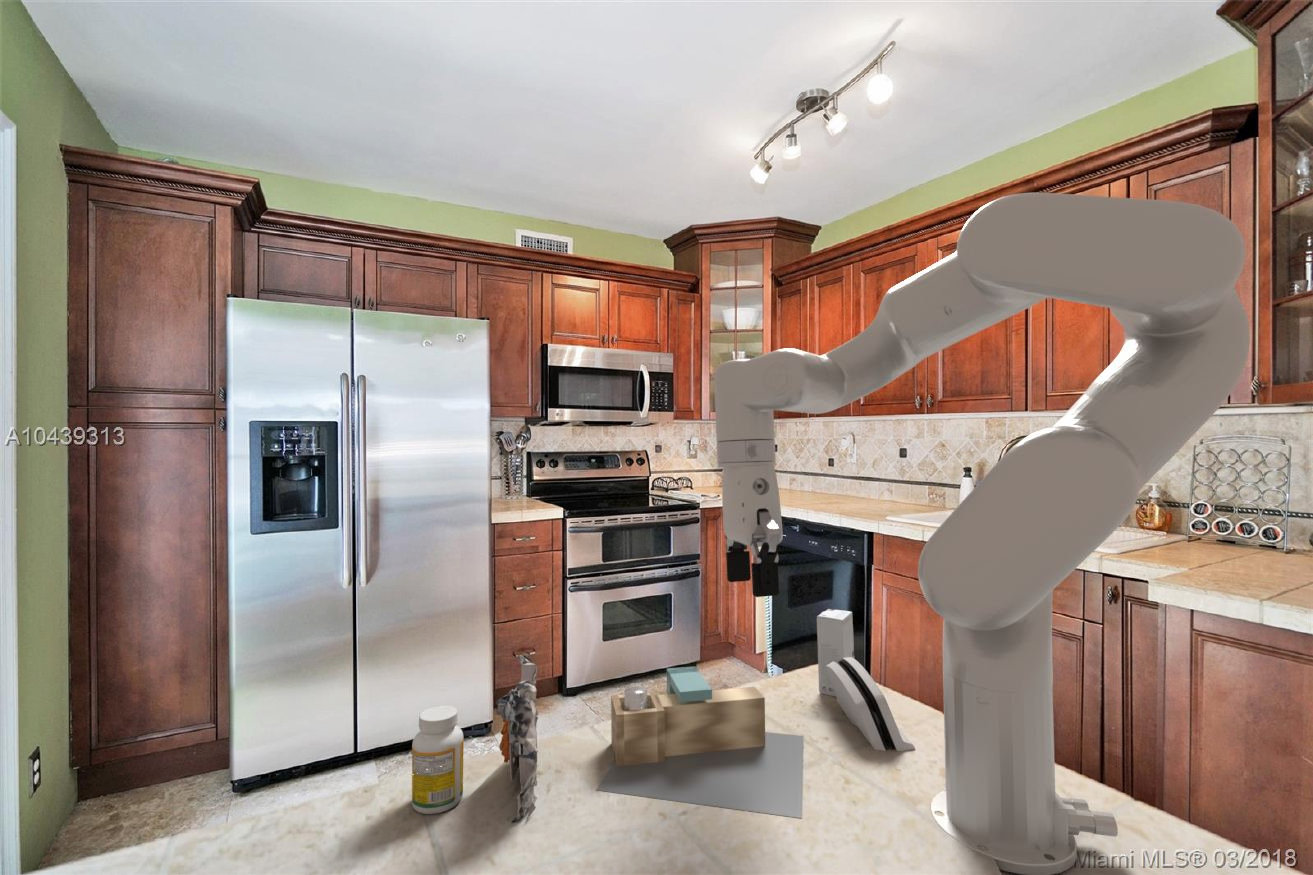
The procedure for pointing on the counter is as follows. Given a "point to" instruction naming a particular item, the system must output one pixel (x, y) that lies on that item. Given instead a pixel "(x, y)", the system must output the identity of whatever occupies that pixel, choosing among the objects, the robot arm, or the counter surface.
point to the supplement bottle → (437, 761)
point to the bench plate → (722, 778)
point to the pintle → (635, 698)
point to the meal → (521, 734)
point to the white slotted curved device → (866, 705)
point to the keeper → (688, 684)
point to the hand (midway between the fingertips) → (751, 587)
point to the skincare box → (833, 643)
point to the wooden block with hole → (686, 725)
